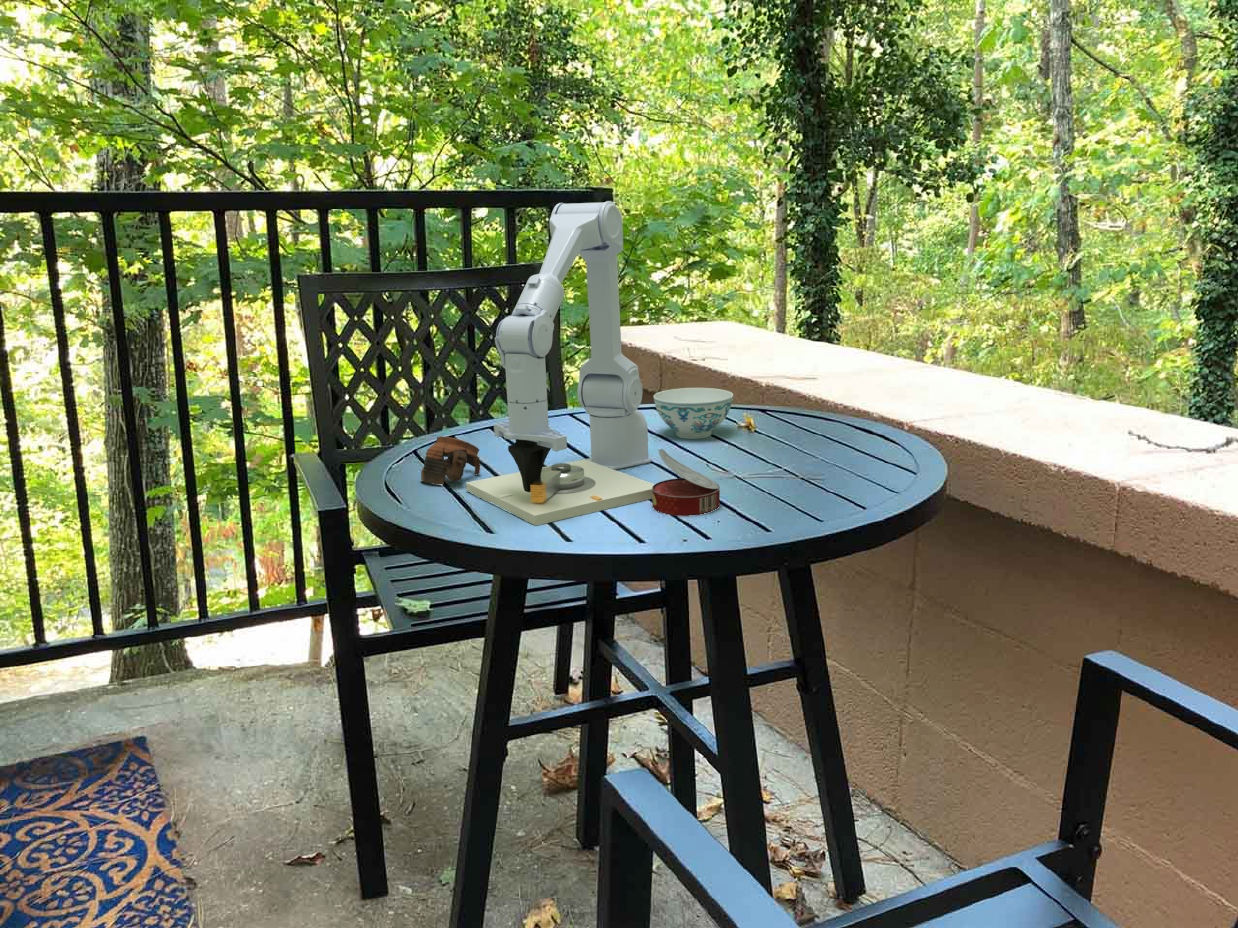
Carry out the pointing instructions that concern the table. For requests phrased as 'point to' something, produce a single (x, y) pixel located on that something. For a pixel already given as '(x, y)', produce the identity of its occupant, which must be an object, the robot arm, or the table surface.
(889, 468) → the table surface
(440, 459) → the brown ridged arch
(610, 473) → the panel
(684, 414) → the chinaware
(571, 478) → the dial
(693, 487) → the canned food
